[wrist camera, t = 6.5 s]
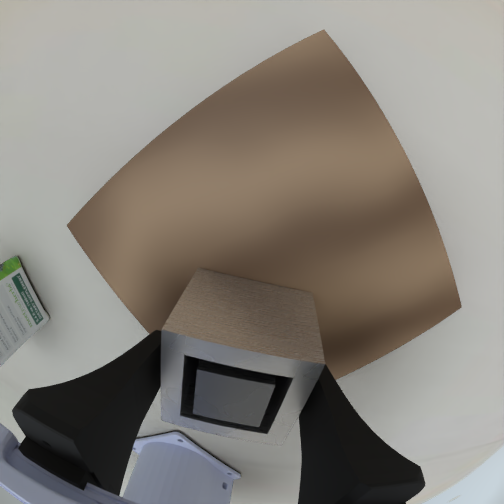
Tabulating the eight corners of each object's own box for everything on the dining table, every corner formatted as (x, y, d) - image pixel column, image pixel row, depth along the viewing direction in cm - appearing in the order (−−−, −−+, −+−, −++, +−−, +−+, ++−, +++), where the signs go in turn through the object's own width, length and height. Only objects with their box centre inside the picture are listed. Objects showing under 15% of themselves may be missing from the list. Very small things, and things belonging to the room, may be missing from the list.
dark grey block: (277, 312, 14) (275, 385, 10) (265, 354, 15) (259, 426, 11) (221, 300, 14) (197, 369, 10) (214, 343, 15) (192, 413, 11)
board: (450, 295, 15) (461, 307, 13) (237, 402, 19) (234, 417, 18) (319, 40, 11) (323, 29, 9) (81, 218, 15) (66, 225, 14)
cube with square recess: (312, 292, 14) (325, 364, 9) (282, 373, 16) (281, 445, 11) (198, 267, 14) (161, 329, 9) (188, 353, 16) (161, 420, 11)
